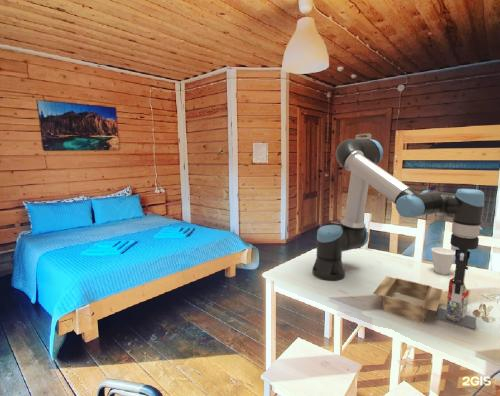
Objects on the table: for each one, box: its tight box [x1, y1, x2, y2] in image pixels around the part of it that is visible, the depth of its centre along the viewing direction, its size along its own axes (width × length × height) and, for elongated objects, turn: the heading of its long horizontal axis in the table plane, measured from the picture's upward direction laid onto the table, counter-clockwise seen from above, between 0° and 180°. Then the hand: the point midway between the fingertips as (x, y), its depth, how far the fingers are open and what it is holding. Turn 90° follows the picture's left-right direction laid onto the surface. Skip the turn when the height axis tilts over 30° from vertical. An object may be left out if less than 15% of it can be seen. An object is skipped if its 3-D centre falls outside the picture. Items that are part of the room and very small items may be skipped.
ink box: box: [446, 277, 470, 323], centre depth 101 cm, size 4×8×15 cm, turn 124°
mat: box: [436, 307, 477, 331], centre depth 102 cm, size 11×8×1 cm
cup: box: [430, 247, 456, 276], centre depth 140 cm, size 10×10×11 cm
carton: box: [372, 275, 443, 323], centre depth 112 cm, size 20×19×6 cm
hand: (457, 293), depth 101 cm, fingers open, 13 cm apart
